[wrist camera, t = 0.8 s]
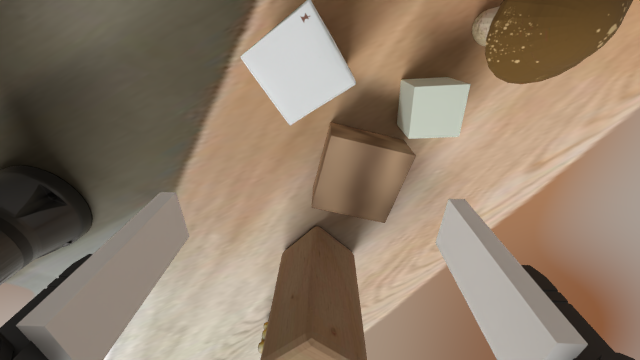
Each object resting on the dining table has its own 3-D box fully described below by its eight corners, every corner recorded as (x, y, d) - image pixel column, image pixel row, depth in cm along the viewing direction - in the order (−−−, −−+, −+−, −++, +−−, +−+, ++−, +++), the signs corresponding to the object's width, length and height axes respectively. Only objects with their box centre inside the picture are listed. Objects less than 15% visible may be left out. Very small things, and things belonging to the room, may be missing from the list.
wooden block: (317, 221, 45) (311, 338, 28) (355, 252, 48) (372, 373, 31) (280, 251, 49) (254, 371, 31) (318, 277, 52) (314, 400, 34)
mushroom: (550, 22, 30) (724, 10, 17) (459, 88, 34) (543, 120, 21) (521, -56, 27) (708, -146, 14) (424, 26, 31) (497, 18, 18)
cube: (396, 124, 37) (408, 138, 31) (400, 79, 34) (414, 86, 28) (439, 122, 36) (459, 136, 31) (447, 77, 33) (470, 84, 28)
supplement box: (266, 48, 32) (235, 53, 21) (316, 10, 30) (311, -6, 19) (300, 99, 35) (288, 128, 24) (348, 68, 33) (358, 83, 22)
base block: (313, 186, 42) (311, 207, 37) (330, 121, 37) (331, 135, 31) (377, 200, 43) (384, 222, 38) (403, 139, 38) (415, 155, 32)
